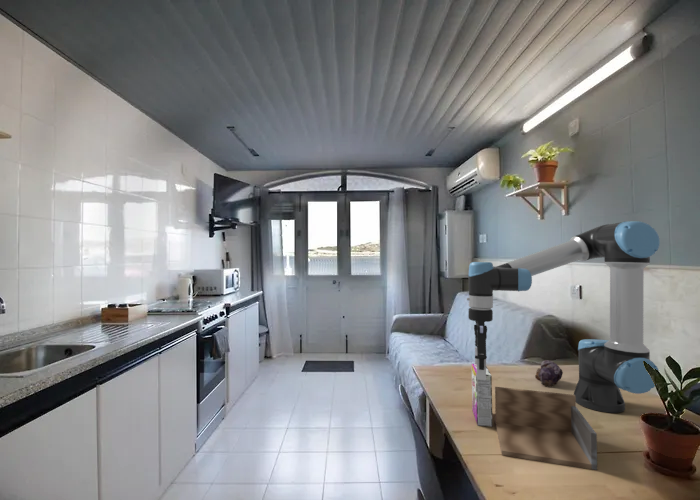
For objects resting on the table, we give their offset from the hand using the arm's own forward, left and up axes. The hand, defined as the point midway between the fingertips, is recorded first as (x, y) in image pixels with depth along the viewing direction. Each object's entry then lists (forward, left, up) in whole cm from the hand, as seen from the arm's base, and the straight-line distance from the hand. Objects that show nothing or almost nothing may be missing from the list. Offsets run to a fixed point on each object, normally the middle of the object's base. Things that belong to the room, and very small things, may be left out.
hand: (480, 372), depth 115 cm
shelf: (-15, +12, -15) cm, 25 cm away
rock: (-29, -43, -15) cm, 54 cm away
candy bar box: (0, 0, -15) cm, 15 cm away
